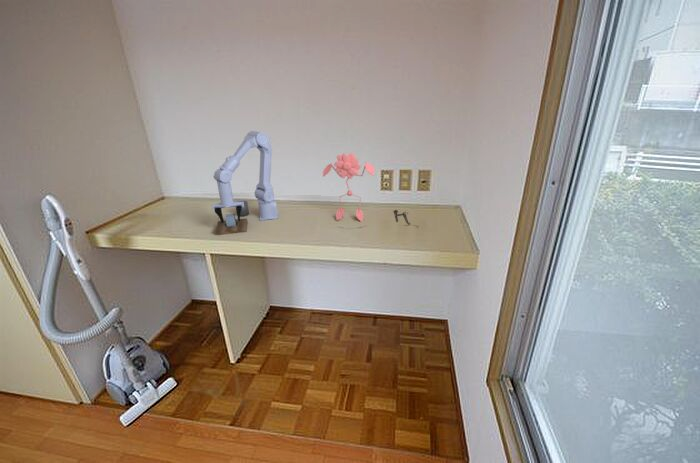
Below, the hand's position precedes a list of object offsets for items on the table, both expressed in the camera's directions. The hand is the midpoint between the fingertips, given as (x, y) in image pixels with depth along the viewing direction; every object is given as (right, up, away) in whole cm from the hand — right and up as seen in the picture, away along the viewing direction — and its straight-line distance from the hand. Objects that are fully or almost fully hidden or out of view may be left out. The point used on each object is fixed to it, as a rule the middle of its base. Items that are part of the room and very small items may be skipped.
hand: (231, 221), depth 157 cm
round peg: (0, +4, +19) cm, 20 cm away
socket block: (0, -4, +2) cm, 4 cm away
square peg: (0, -4, +2) cm, 4 cm away
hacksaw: (+87, +1, +8) cm, 87 cm away
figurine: (+58, -1, +5) cm, 58 cm away
